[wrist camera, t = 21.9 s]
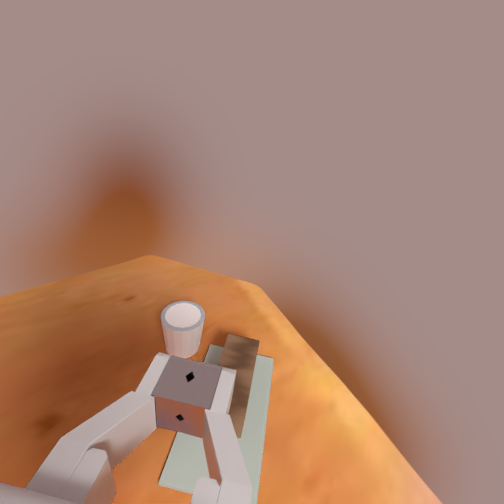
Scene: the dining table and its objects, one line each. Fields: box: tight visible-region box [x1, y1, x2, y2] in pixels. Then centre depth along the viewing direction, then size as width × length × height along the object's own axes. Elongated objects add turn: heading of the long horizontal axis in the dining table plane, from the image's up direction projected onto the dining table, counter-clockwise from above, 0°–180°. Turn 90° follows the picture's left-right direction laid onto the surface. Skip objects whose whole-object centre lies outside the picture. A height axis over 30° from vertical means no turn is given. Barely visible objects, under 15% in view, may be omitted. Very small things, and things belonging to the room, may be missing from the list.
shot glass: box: [160, 301, 205, 358], centre depth 46 cm, size 7×7×7 cm
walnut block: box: [218, 334, 259, 439], centre depth 40 cm, size 5×5×12 cm
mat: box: [158, 344, 274, 504], centre depth 40 cm, size 11×20×1 cm, turn 170°
